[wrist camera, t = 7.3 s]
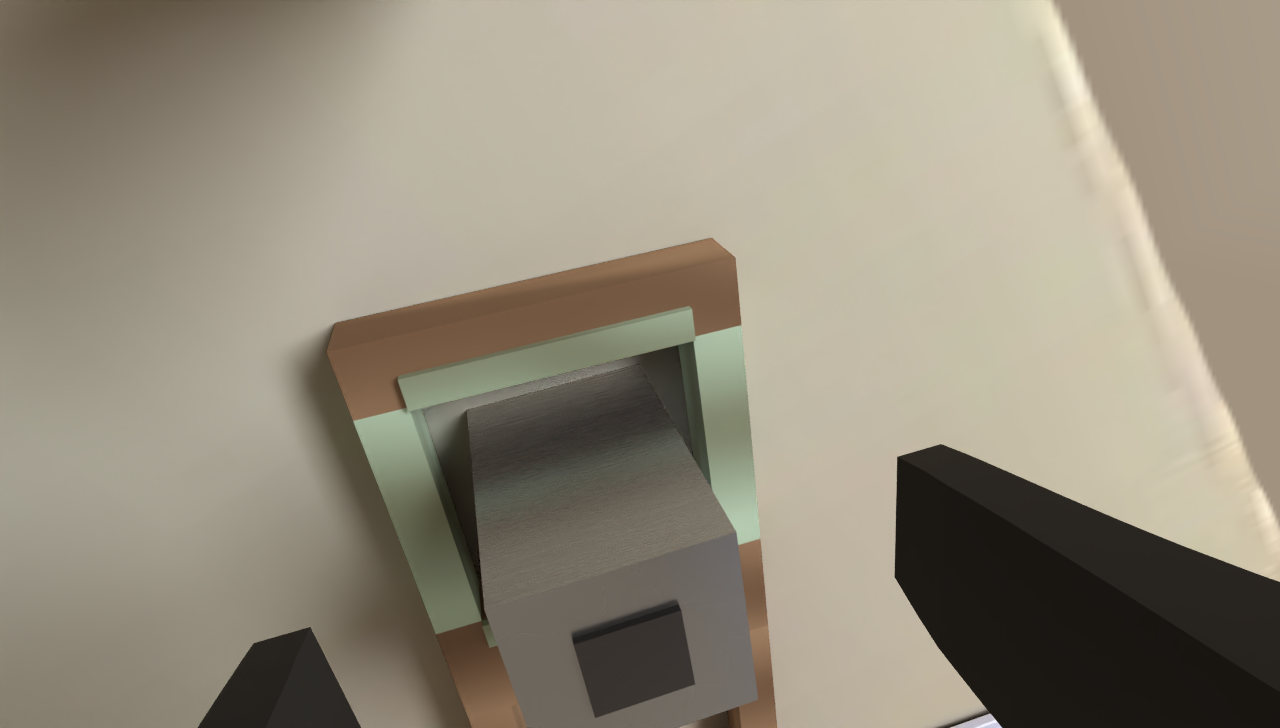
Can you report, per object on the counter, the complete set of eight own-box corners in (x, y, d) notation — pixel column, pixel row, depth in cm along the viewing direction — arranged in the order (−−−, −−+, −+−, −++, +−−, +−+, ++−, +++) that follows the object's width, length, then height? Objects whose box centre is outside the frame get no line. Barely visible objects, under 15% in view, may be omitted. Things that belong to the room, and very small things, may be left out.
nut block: (664, 499, 21) (761, 706, 15) (510, 545, 21) (545, 780, 14) (638, 363, 19) (739, 537, 13) (466, 409, 18) (484, 615, 12)
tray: (765, 752, 27) (785, 797, 26) (526, 834, 26) (532, 887, 24) (711, 237, 18) (738, 259, 16) (335, 322, 17) (325, 356, 15)
